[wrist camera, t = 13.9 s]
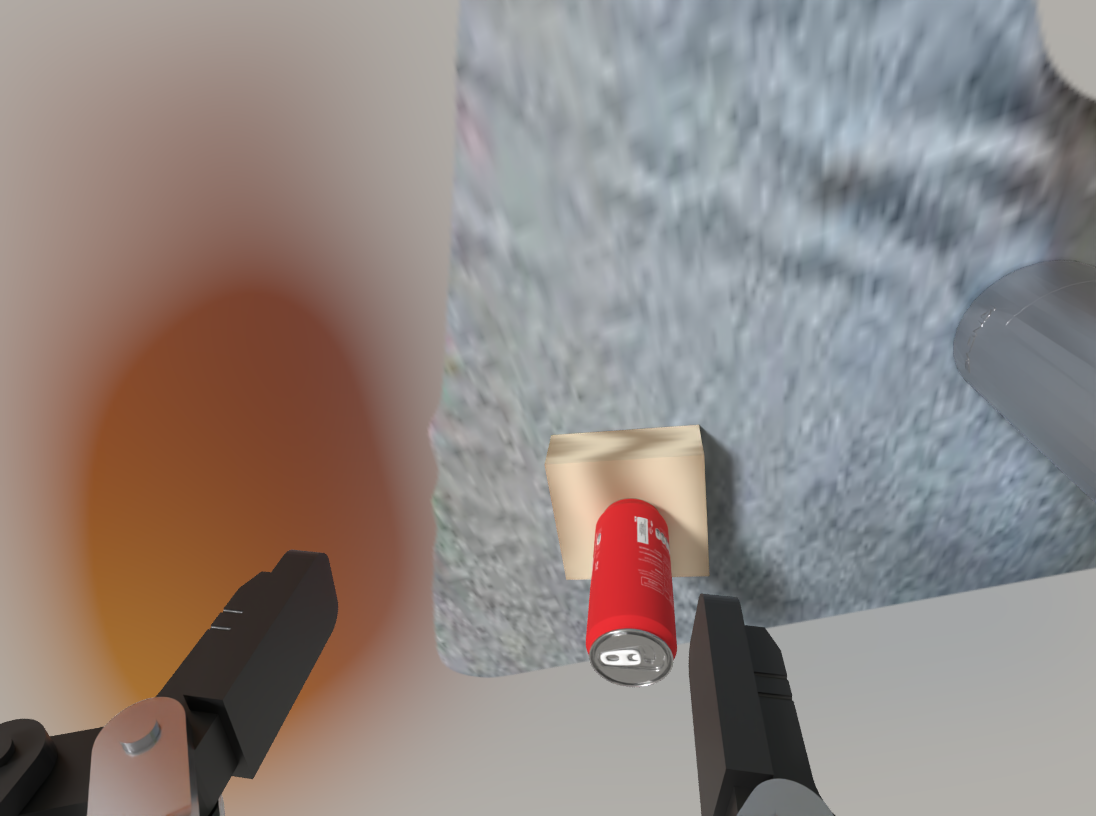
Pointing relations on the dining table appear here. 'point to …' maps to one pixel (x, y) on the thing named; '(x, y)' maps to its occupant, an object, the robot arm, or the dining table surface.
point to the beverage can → (631, 596)
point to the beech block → (629, 490)
